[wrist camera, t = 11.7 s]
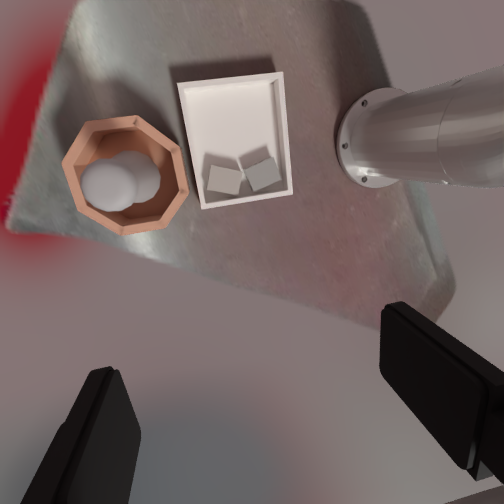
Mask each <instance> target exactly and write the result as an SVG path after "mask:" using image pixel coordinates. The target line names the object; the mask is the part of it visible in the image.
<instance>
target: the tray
mask: <svg viewBox="0 0 504 504" xmlns="http://www.w3.org/2000/svg"><path fill="white" fill-rule="evenodd" d="M177 86H178V91H179V96H180V101H181V106H182V111H183V116H184V121H185V126H186V131H187V137H188V142H189V147H190V152H191V157H192V162H193V167H194V172H195V177H196V183H197V188H198V193H199V198H200V203H201V208H202V209H207V208H213V207H219V206H225V205H231V204H237V203H243V202H249V201H255V200H261V199H267V198H273V197H279V196H285V195H292V194H293V189H292V177H291V165H290V152H289V140H288V128H287V116H286V104H285V92H284V80H283V72H276V73H266V74H257V75H248V76H238V77H229V78H220V79H210V80H201V81H192V82H182V83H177ZM269 157H274V159H275V162H276V165H277V168H278V170H279V173H280V176H281V180H279V181H277V182H275V183H272V184H270V185H268V186H266V187H264V188H261V189H259V190H257V191H255V192H253V191H252V190H251V188H250V186H249V183H248V181H247V178H246V176H245V173H244V171H243V169H244V168H247V167H249V166H251V165H253V164H256V163H258V162H260V161H262V160H264V159H267V158H269ZM210 165H215V166H219V167H224V168H229V169H233V170H238V171H242V172H243V173H242V178H241V183H240V188H239V193H238V195H233V194H228V193H223V192H218V191H213V190H208V189H207V183H208V176H209V170H210Z"/></svg>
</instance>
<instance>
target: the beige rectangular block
mask: <svg viewBox="0 0 504 504" xmlns="http://www.w3.org/2000/svg"><path fill="white" fill-rule="evenodd" d="M242 173H243V172H242V171H238V170H233V169H229V168H224V167H219V166H215V165H210V170H209V176H208V183H207V189H208V190H213V191H218V192H223V193H228V194H233V195H238V193H239V188H240V183H241V178H242Z"/></svg>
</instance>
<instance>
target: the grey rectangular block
mask: <svg viewBox="0 0 504 504" xmlns="http://www.w3.org/2000/svg"><path fill="white" fill-rule="evenodd" d="M243 171H244V173H245V176H246V178H247V181H248V183H249V186H250V188H251V190H252V191H253V192H255V191H257V190H259V189H261V188H264V187H266V186H268V185H270V184H272V183H275V182H277V181H279V180H281V176H280V173H279V170H278V168H277V165H276V162H275V159H274V157H269V158H267V159H264V160H262V161H260V162H258V163H256V164H253V165H251V166H249V167H247V168H244V169H243Z"/></svg>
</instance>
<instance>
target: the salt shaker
mask: <svg viewBox="0 0 504 504" xmlns="http://www.w3.org/2000/svg"><path fill="white" fill-rule="evenodd" d="M160 178H161V176H160V173H159V170H158V168H157V165H156V164H155V163H154V162H153V161H152V160H151V158H150V157H149V156H148V155H145V154H143V153H141V152H138V151H122V152H120V153H118V154H116V155H115V156H113V157H112V158H111V159H97V160H96V161H94V162H92V163H90V164H88V165H87V166H86V168H85V169H84V171H83V172H82V174H81V176H80V188H81V190H82V193H83V195H84V197H85V199H86V200H87V201H88V202H89V203H91V204H92V205H93V206H94V207H96V208H98V209H101V210H103V211H106V212H111V211H122V210H124V209H125V208H127V207H129V206H131V205H132V204H133V203H143V202H145V201H147V200H149V199H151V198H153V197H154V195H155V194H156V192H157V191H158V189H159V186H160Z"/></svg>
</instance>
